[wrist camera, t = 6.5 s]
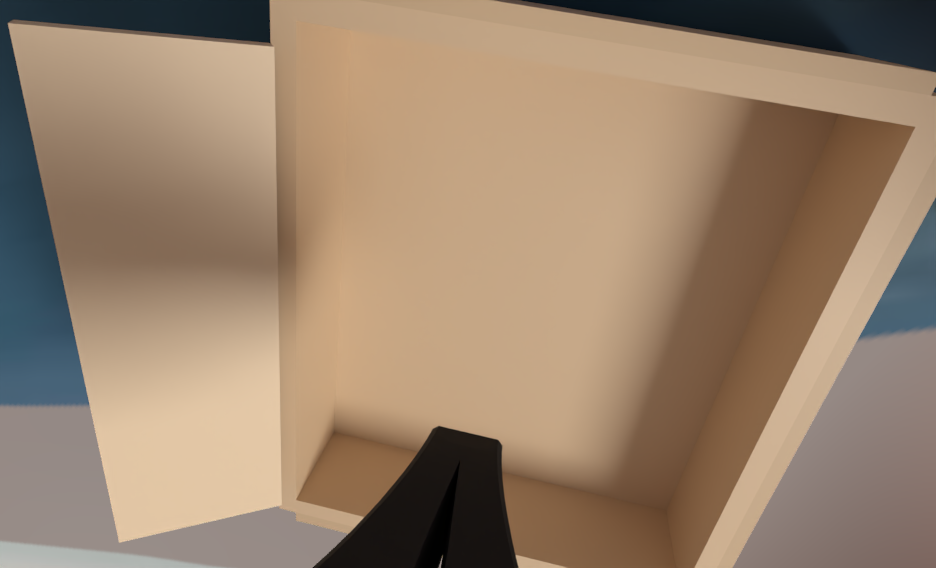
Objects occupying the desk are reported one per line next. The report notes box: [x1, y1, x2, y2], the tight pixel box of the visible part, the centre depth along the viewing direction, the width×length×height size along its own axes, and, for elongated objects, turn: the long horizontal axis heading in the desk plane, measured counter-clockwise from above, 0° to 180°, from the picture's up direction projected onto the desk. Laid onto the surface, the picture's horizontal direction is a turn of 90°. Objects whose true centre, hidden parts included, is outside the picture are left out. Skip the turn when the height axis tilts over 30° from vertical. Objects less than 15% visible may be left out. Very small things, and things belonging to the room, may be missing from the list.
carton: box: [270, 0, 936, 568], centre depth 17 cm, size 14×17×4 cm
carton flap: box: [8, 20, 282, 542], centre depth 15 cm, size 4×14×1 cm
